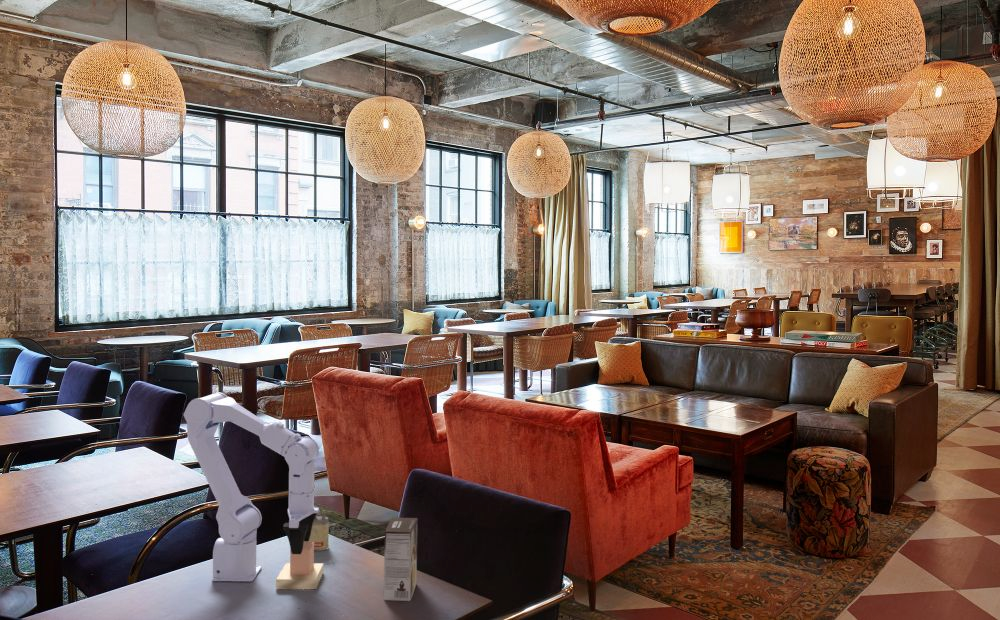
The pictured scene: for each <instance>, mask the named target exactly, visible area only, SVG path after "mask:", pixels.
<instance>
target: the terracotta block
mask: <svg viewBox="0 0 1000 620" xmlns="http://www.w3.org/2000/svg"><path fill="white" fill-rule="evenodd" d="M289 549H290V551H289V554H290V557H289V559H290V560H289V563H290V575H310V573H311V571H312V569H313V567H314V563H315V561H314V560H315V550H314V542H304V544H303V550H302V553H301V554H292V552H291V548H289Z"/></svg>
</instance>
